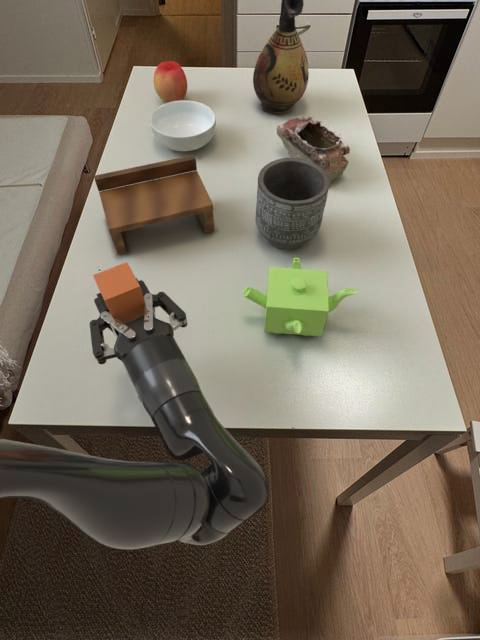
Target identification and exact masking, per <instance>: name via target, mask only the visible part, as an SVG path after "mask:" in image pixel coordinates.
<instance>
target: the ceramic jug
mask: <svg viewBox="0 0 480 640" xmlns="http://www.w3.org/2000/svg"><path fill="white" fill-rule="evenodd" d="M304 4H305V3H304V0H281V4H280V6H281V7H280V13H279V19H278V27H277V29H276V30H274V32H273V33H272V36H270V37H269V39H268V40H267V42H266V43H265V45H264V46H263V48H262V49H261V51H260V53H259V55H258V56H257V60H256V63H255V66H254V70H253V76H252V84H253V85H252V86H253V89H254V90H253V91H254V93H255V95H256V97H257V99H258V100H259V102H260V106H261V110H262V111H263V112H264V113H268V114H269V115H272V116H280V115H286V114H288V113H290V112H291V110H292V108H293V107H294V106H295V105H296V104H297V103H298V102H299V101H300V100H301V99H302V98H303V96H304V95H305V92H306V91H307V87H308V83H309V76H310V75H309V63H308V57H307V52H306V50H305V47H304V45H303V42H302V39H301V37H300V36H299V33H298V31H297V27H296V17H299V16H300V15H301V14H302V13H303V8H304Z"/></svg>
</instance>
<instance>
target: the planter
mask: <svg viewBox="0 0 480 640" xmlns="http://www.w3.org/2000/svg"><path fill="white" fill-rule="evenodd" d="M330 183H331V182H330V180H329V177H328V174H327V173H326V171H325V170H324V169H323V168H322V167H320V166H319V165H317V164H315V163H313V162H311V161H308V160H305V159H300V158H290V157H283V158H282V157H281V158H278V159H275V160H273V161H270V162H268V163H266V164H265V165H264V166H263V167H262V168H261V169H260V170H259V173H258V176H257V188H256V189H257V190H256V207H255V225H256V228H257V230H258V231H259V233H260V235H261V236H262V237H263V238H264V239H265V241H267V243H268V244H269V245H270V246H273V247H274V248H276V249H278V250H283V251H292V250H297V249H299V248H301V247H303V246H305V245H306V244H307V243H309V242H310V241H311V240H313V239H314V238H315V237H316V236H317V234H318V233H319V232H320V229H321V225H322V220H323V217H324V212H325V208H326V204H327V200H328V199H327V198H328V194H329V191H330V185H331V184H330Z"/></svg>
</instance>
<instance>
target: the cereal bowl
mask: <svg viewBox="0 0 480 640" xmlns="http://www.w3.org/2000/svg"><path fill="white" fill-rule="evenodd" d="M149 123H150V125H149V126H150V128H151V131H152V134H153V136H154V138H155V139H156V140H157V142H158V143H159V144H161V146H163V147H165V148H167V149H169V150H172V151H177V152H192V151H196V150H199V149H201V148H203V147H204V146H205V145H207V144H208V143H209V142H210V141H211V139H212V138H213V136H214V135H215V131H216V125H217V124H216V123H217V117H216V114H215V112H214V111H213V109H212V108H211V107H209V106H208V105H206V104H205V103H202V102H199V101H194V100H188V99H187V100H185V99H182V100H179V101H173V102H169V103H166V102H165V103H163V104H161V105H160V106H158V107H156V108H155V109H153V111H152V113H151V114H150V117H149Z"/></svg>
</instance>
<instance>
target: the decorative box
mask: <svg viewBox="0 0 480 640" xmlns="http://www.w3.org/2000/svg"><path fill="white" fill-rule="evenodd" d="M276 135H277V136H278V137H279V139H280V140H281V142H282V145H283V147H284V148H285V149H286V150H287V153H288V156H289V158H300V159H305V160H308V161H311V162H313V163H315V164H317V165H319V166H320V167H322V168H323V169H324V170H325V171H326V173H327V174H328V177H329V180H330V183H331V182H332V181H334V179H337V178H339V177H341V176H342V175H343V174H344V172H345V170H346V168H347V167H348V165H349V163H350V161H349V160H348V159H347V158H346V156H347V155H348V154H350V152H351V147H350V146H349V145H348V144H347V143H344V142H343V141H342V138H343V137H342V135H341V133H340V132H339V131H338V130H336V129H335V128H334V127H333V126H331V125H330V124H327V123H325V122H323V121H321V120H316V119H314V117H312V116H309V117H307V118H305V117H303V116H301V115H299V116H297V117H295V118H292V119H290V118H289V119H288V120H287V121H285V122H284V123H282V124H279V125H277V127H276Z"/></svg>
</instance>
